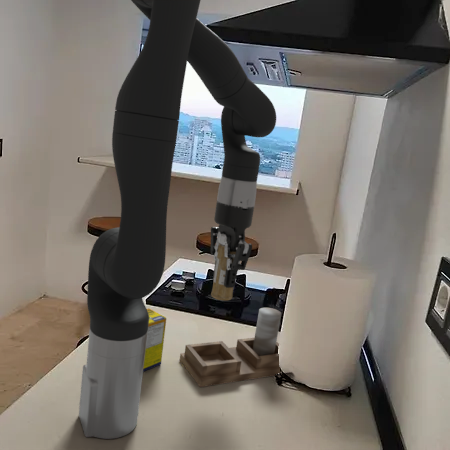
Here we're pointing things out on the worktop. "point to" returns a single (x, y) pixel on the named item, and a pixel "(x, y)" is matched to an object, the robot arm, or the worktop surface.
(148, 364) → the supplement box
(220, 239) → the sprinkles bottle
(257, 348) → the rack
